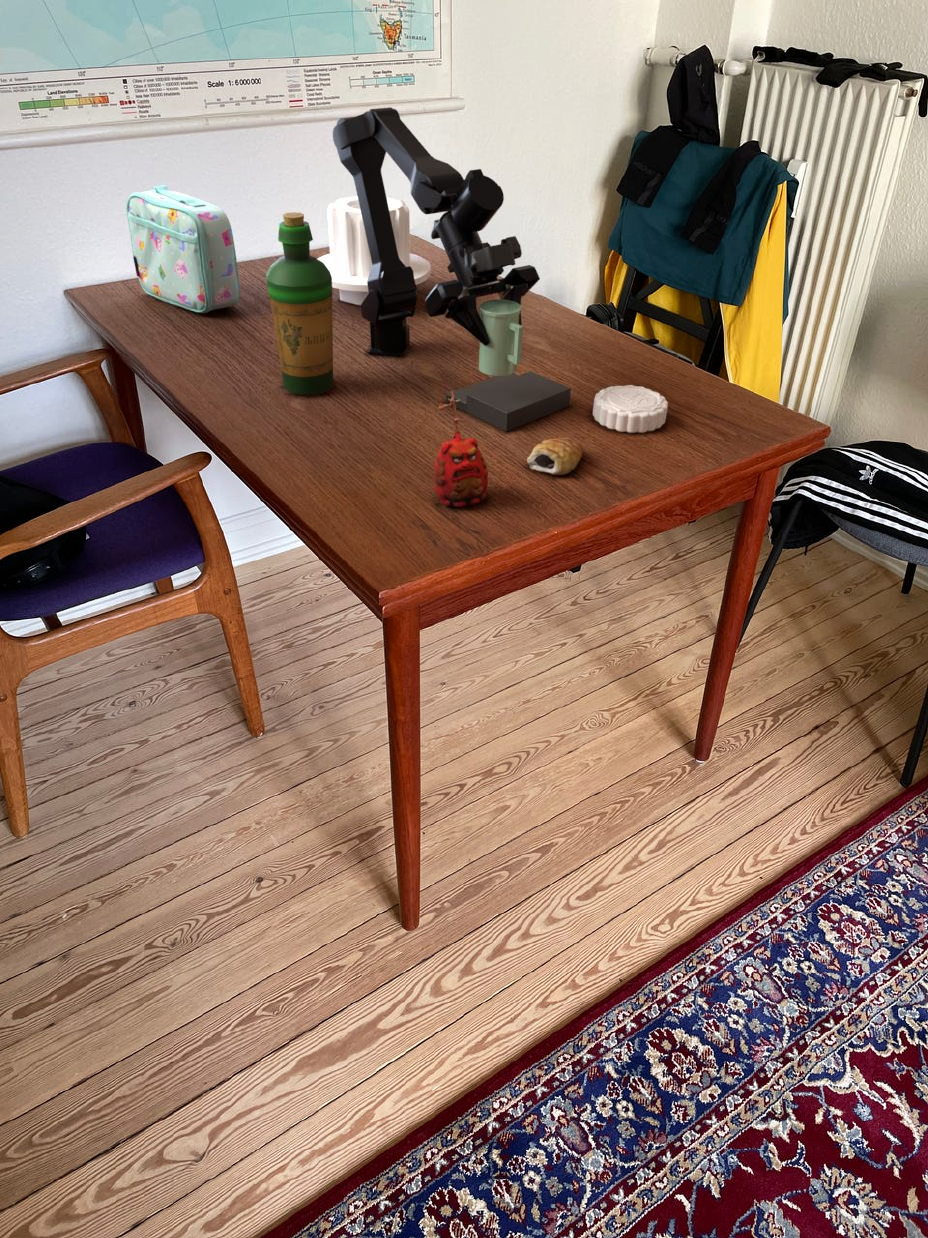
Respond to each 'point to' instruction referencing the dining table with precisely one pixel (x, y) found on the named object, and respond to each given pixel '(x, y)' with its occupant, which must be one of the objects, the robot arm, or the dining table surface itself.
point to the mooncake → (630, 409)
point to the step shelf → (512, 399)
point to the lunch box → (183, 250)
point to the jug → (500, 337)
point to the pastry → (555, 456)
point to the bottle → (301, 310)
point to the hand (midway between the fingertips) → (503, 340)
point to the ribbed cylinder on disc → (364, 247)
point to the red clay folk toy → (460, 468)
